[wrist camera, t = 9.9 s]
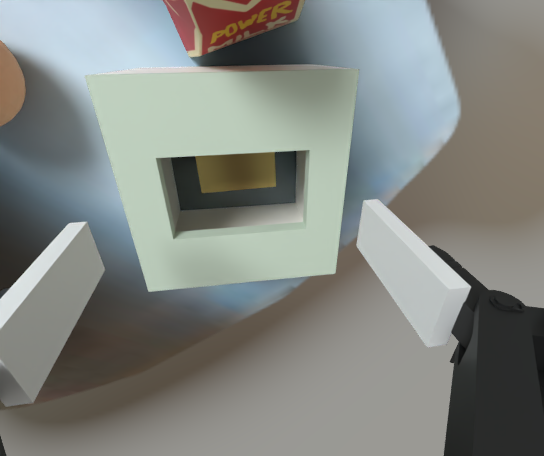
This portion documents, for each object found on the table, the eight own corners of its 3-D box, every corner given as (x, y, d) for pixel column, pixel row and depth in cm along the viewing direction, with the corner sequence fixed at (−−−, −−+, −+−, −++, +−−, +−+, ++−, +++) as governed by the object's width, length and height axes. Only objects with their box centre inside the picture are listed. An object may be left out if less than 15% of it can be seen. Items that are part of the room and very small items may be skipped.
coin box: (172, 219, 31) (148, 291, 22) (140, 67, 24) (84, 75, 15) (304, 210, 33) (335, 273, 23) (310, 64, 25) (359, 69, 16)
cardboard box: (206, 168, 29) (201, 193, 24) (201, 137, 27) (195, 156, 22) (267, 163, 29) (276, 186, 24) (265, 132, 28) (274, 150, 23)
